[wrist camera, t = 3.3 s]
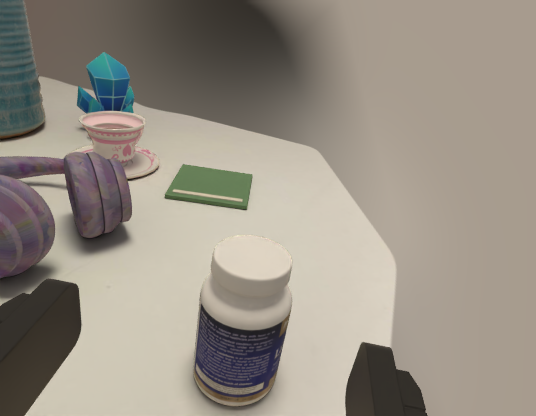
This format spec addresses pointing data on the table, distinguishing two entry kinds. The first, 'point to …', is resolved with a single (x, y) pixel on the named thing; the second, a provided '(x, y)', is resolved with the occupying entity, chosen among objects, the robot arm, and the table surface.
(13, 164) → the headphones
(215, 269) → the pill bottle
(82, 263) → the table surface
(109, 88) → the gemstone
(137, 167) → the teacup
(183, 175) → the medicine mat
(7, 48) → the vase
